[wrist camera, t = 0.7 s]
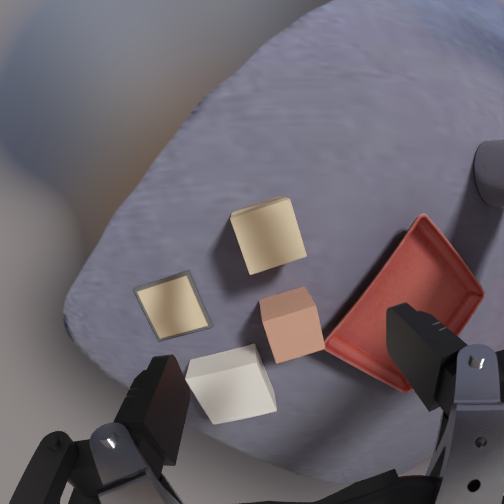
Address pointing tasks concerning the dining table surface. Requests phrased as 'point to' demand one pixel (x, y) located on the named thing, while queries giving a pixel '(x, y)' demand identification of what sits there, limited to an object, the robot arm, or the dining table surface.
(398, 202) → the dining table surface
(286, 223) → the maple cube
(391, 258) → the plant saucer
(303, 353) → the terracotta cube
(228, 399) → the base slab
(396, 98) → the dining table surface
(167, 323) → the tile
